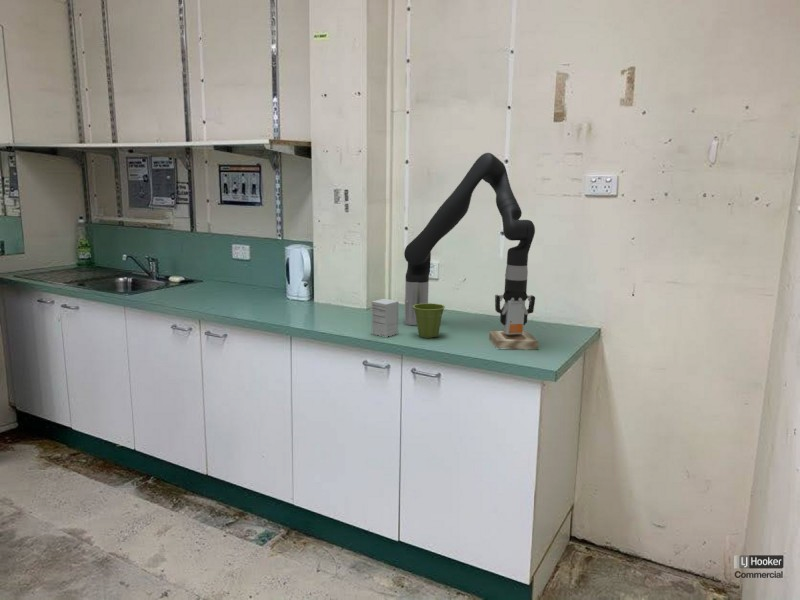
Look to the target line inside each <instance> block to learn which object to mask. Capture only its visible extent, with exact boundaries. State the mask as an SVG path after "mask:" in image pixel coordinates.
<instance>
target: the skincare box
mask: <svg viewBox="0 0 800 600" xmlns="http://www.w3.org/2000/svg"><path fill="white" fill-rule="evenodd" d="M508 302H509V303H508V310H507V311H506V313H505V315H506V316H505V325H503V326H502V331H503V332H504V333H506V334H507V335H509V334H523V331H524V326H525V325H524V311H525V309H522V302H519V301H508ZM504 303H505V305H507V302H506V301H505V300H504ZM523 303H524V305H525V306H526V301H523Z"/></svg>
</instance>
